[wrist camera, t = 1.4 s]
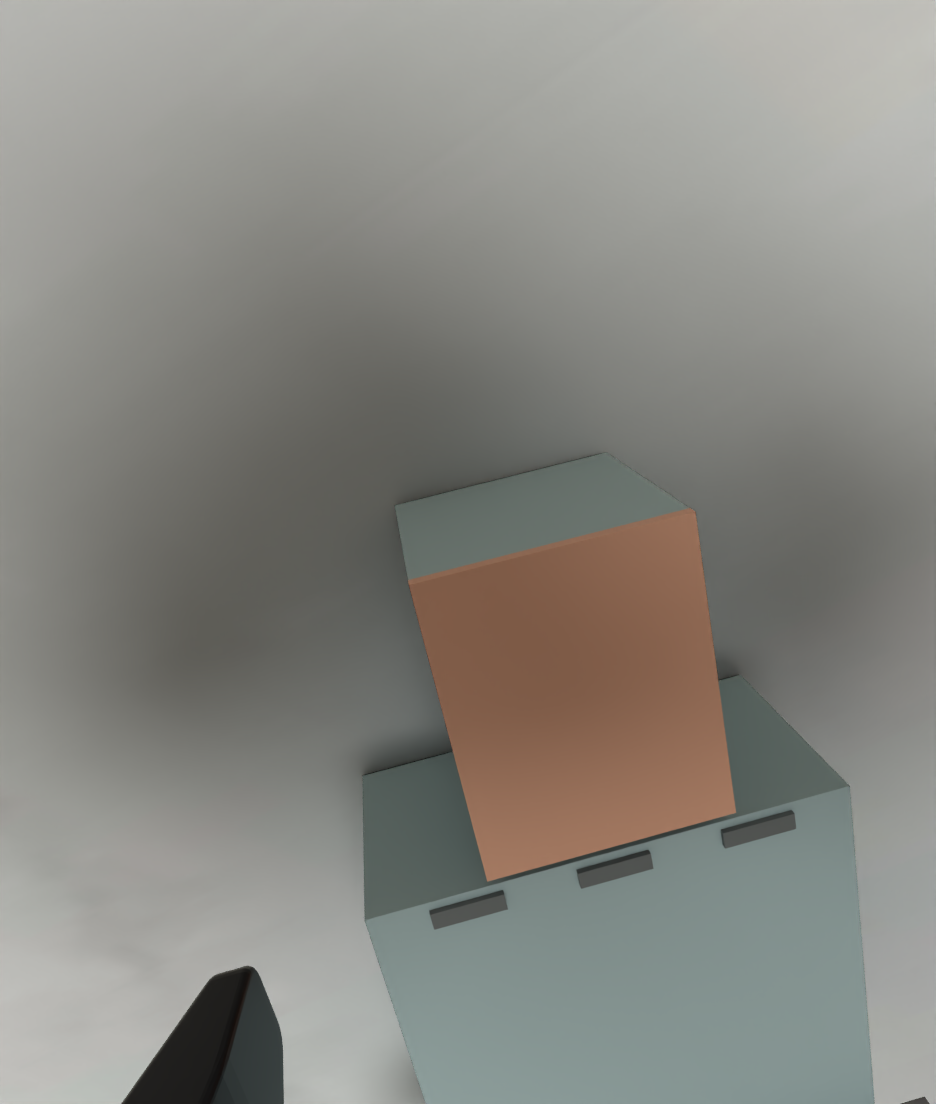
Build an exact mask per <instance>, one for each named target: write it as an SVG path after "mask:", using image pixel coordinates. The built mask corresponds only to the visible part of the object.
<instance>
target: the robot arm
mask: <svg viewBox="0 0 936 1104" xmlns="http://www.w3.org/2000/svg"><path fill="white" fill-rule="evenodd" d="M122 1104H284V1089H283V1045H282V1037H281V1031H280V1027H279V1024H278V1021H277V1018H276V1016H275V1013H274V1011H273V1008H272V1006H271V1003H270V1001H269V998H268V996H267V993H266V991H265V988H264V986H263V983H262V981H261V978H260V976H259V974H258V972H257V971H256V970H255V968H253V967H250V966H244V967H241V968H237V969H234V970H230V971H226V972H223V973H219V974H217V975H215V976H213V977H212V978H211V979H210V980H209V981H208V982H207V984H206V985H205V986H204V988H203V989H202V991H201V992H200V993H199V995H198V996H197V998H196V999H195V1000H194V1002H193V1003H192V1005H191V1006H190V1008H189V1009H188V1010H187V1012H186V1013H185V1015H184V1016H183V1017H182V1019H181V1020H180V1022H179V1023H178V1024H177V1026H176V1027H175V1029H174V1030H173V1032H172V1033H171V1034H170V1036H169V1037H168V1039H167V1040H166V1041H165V1043H164V1044H163V1046H162V1047H161V1049H160V1050H159V1051H158V1053H157V1054H156V1056H155V1057H154V1058H153V1060H152V1061H151V1063H150V1064H149V1065H148V1067H147V1068H146V1070H145V1071H144V1073H143V1074H142V1075H141V1077H140V1078H139V1080H138V1081H137V1082H136V1084H135V1085H134V1087H133V1088H132V1089H131V1091H130V1092H129V1094H128V1095H127V1097H126V1098H125V1099H124V1101H123V1102H122Z"/></svg>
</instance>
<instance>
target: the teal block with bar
mask: <svg viewBox="0 0 936 1104" xmlns="http://www.w3.org/2000/svg"><path fill="white" fill-rule="evenodd" d="M718 682H719V690H720V697H721V705H722V712H723V719H724V727H725V734H726V742H727V749H728V756H729V764H730V771H731V779H732V786H733V794H734V801H735V808H736V813H734V814H730V815H727V816H723V817H719V818H716V819H712V820H708V821H705V822H701V823H698V824H694V825H690V826H687V827H683V828H680V829H676V830H672V831H669V832H665V833H662V834H658V835H654V836H651V837H647V838H643V839H640V840H636V841H633V842H629V843H625V844H622V845H618V846H615V847H611V848H607V849H604V850H600V851H596V852H593V853H589V854H586V855H582V856H578V857H575V858H571V859H568V860H564V861H560V862H557V863H553V864H550V865H546V866H542V867H539V868H535V869H531V870H528V871H524V872H521V873H517V874H513V875H510V876H506V877H503V878H499V879H495V880H492V881H488V882H487V879H486V875H485V871H484V867H483V863H482V860H481V856H480V852H479V848H478V845H477V841H476V837H475V833H474V829H473V826H472V822H471V818H470V814H469V811H468V807H467V803H466V799H465V796H464V792H463V788H462V784H461V780H460V777H459V773H458V769H457V765H456V762H455V758H454V754H453V752H450V753H446V754H443V755H439V756H435V757H432V758H428V759H424V760H420V761H417V762H413V763H409V764H405V765H402V766H398V767H394V768H390V769H387V770H383V771H379V772H375V773H372V774H368V775H364V776H363V838H364V906H365V923H366V926H367V929H368V932H369V935H370V938H371V941H372V944H373V947H374V950H375V953H376V956H377V959H378V962H379V965H380V968H381V971H382V974H383V977H384V980H385V983H386V986H387V989H388V992H389V995H390V998H391V1001H392V1004H393V1007H394V1010H395V1013H396V1016H397V1019H398V1022H399V1025H400V1028H401V1031H402V1034H403V1037H404V1040H405V1043H406V1046H407V1049H408V1052H409V1055H410V1058H411V1061H412V1064H413V1067H414V1070H415V1073H416V1076H417V1079H418V1082H419V1085H420V1088H421V1091H422V1094H423V1097H424V1100H425V1103H426V1104H875V1102H874V1090H873V1077H872V1064H871V1051H870V1039H869V1026H868V1013H867V1000H866V988H865V975H864V962H863V949H862V937H861V924H860V911H859V899H858V886H857V873H856V860H855V848H854V835H853V822H852V809H851V797H850V786H849V785H848V784H847V783H846V782H845V781H844V780H843V779H842V778H841V777H840V776H839V775H838V774H837V773H836V772H835V771H834V770H833V769H832V768H831V767H830V766H829V765H828V764H827V762H826V761H825V760H824V759H823V758H822V757H821V756H820V755H819V754H818V753H817V752H816V751H815V750H814V749H813V748H812V747H811V746H810V745H809V744H808V743H807V742H806V741H805V740H804V739H803V738H802V737H801V736H800V735H799V734H798V733H797V732H796V731H795V730H794V729H793V728H792V727H791V726H790V725H789V724H788V723H787V722H786V721H785V720H784V719H783V718H782V717H781V716H780V715H779V714H778V713H777V712H776V711H775V710H774V709H773V708H772V707H771V706H770V705H769V704H768V703H767V702H766V701H765V700H764V699H763V698H762V697H761V696H760V695H759V694H758V693H757V692H756V691H755V690H754V689H753V688H752V687H751V686H750V685H749V684H748V682H747V681H746V680H745V679H744V678H743V677H742V676H741V675H738V676H734V677H730V678H727V679H723V680H719V681H718ZM902 1104H929V1102H928V1101H927V1100H926V1098H925V1097H922V1098H918V1099H915V1100H912V1101H908V1102H905V1103H902Z"/></svg>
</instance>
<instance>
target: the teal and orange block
mask: <svg viewBox="0 0 936 1104" xmlns="http://www.w3.org/2000/svg"><path fill="white" fill-rule="evenodd" d="M395 511H396V516H397V522H398V527H399V533H400V539H401V544H402V550H403V555H404V561H405V567H406V572H407V578H408V583H409V588H410V592H411V595H412V599H413V603H414V607H415V610H416V614H417V618H418V622H419V626H420V629H421V633H422V637H423V641H424V644H425V648H426V652H427V656H428V660H429V663H430V667H431V671H432V675H433V678H434V682H435V686H436V690H437V694H438V697H439V701H440V705H441V709H442V712H443V716H444V720H445V724H446V728H447V731H448V735H449V739H450V743H451V746H452V750H453V754H454V758H455V762H456V765H457V769H458V773H459V777H460V780H461V784H462V788H463V792H464V796H465V799H466V803H467V807H468V811H469V814H470V818H471V822H472V826H473V829H474V833H475V837H476V841H477V845H478V848H479V852H480V856H481V860H482V863H483V867H484V871H485V875H486V879H487V882H488V881H492V880H495V879H499V878H503V877H506V876H510V875H513V874H517V873H521V872H524V871H528V870H531V869H535V868H539V867H542V866H546V865H550V864H553V863H557V862H560V861H564V860H568V859H571V858H575V857H578V856H582V855H586V854H589V853H593V852H596V851H600V850H604V849H607V848H611V847H615V846H618V845H622V844H625V843H629V842H633V841H636V840H640V839H643V838H647V837H651V836H654V835H658V834H662V833H665V832H669V831H672V830H676V829H680V828H683V827H687V826H690V825H694V824H698V823H701V822H705V821H708V820H712V819H716V818H719V817H723V816H727V815H730V814H734V813H736V808H735V801H734V794H733V786H732V779H731V771H730V764H729V756H728V749H727V742H726V734H725V727H724V719H723V712H722V705H721V697H720V690H719V682H718V675H717V667H716V660H715V653H714V645H713V638H712V630H711V623H710V616H709V608H708V601H707V593H706V586H705V578H704V571H703V564H702V556H701V549H700V541H699V534H698V527H697V519H696V512H695V511H694V510H692V509H691V508H689V507H688V506H686V505H685V504H683V503H682V502H680V501H679V500H677V499H676V498H674V497H673V496H671V495H670V494H668V493H667V492H665V491H664V490H662V489H661V488H659V487H658V486H656V485H655V484H653V483H652V482H650V481H649V480H647V479H646V478H644V477H643V476H641V475H640V474H638V473H637V472H635V471H633V470H632V469H630V468H629V467H627V466H626V465H624V464H623V463H621V462H620V461H618V460H617V459H615V458H614V457H612V456H611V455H609V454H608V453H602V454H598V455H594V456H590V457H586V458H582V459H578V460H574V461H570V462H566V463H562V464H558V465H554V466H550V467H546V468H542V469H538V470H534V471H530V472H526V473H522V474H518V475H514V476H510V477H506V478H502V479H498V480H494V481H491V482H487V483H483V484H479V485H475V486H471V487H467V488H463V489H459V490H455V491H451V492H447V493H443V494H439V495H435V496H431V497H427V498H423V499H419V500H415V501H411V502H407V503H403V504H399V505H395Z"/></svg>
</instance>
